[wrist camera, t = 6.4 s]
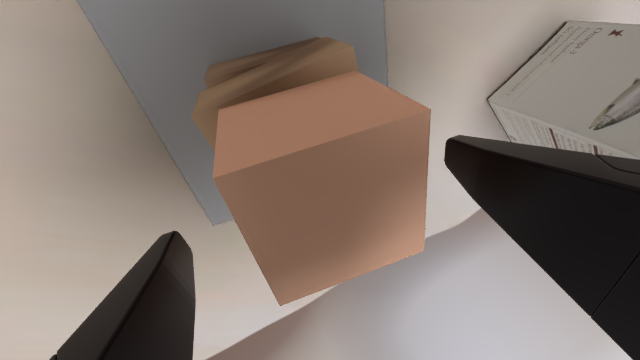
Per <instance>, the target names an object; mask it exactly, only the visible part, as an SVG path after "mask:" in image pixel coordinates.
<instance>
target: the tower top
mask: <svg viewBox="0 0 640 360" xmlns="http://www.w3.org/2000/svg"><path fill="white" fill-rule="evenodd" d="M352 71H357V72H359V69H358V64H357V60H356V56H355V52H354V48H353V45H350V44H347V43H344V42H341V41H338V40H335V39H332V38H329V37H323V38H321V39H319V40H317V41H314V42H312V43H310V44H308V45H305V46H303V47H301V48H299V49H296V50H294V51H292V52H290V53H287V54H285V55H283V56H281V57H278V58H276V59H274V60H272V61H269V62H267V63H265V64H263V65H261V66H258V67H256V68H254V69H252V70H249V71H247V72H245V73H243V74H240V75H238V76H236V77H234V78H231V79H229V80H227V81H225V82H222V83H220V84H218V85H216V86H213V87H211V88H209V89H207V90H204V91H202V92H200V93H199V96H198V99H197V102H196V105H195V108H194V111H193V114H192V117H191V118H192V119H193V121H194V122H195V124H196V125H197V126H198V128H199V129H200V131H201V132H202V134H203V135H204V137H205V138H206V140H207V141H208V142H209V144H210V145H211V147H212V148H213V150H214V151H215V144H216V133H217V122H218V110H219V109H222V108H226V107H229V106H233V105H236V104H240V103H243V102H247V101H250V100H254V99H257V98H261V97H264V96H268V95H271V94H275V93H278V92H282V91H285V90H289V89H292V88H296V87H299V86H303V85H306V84H310V83H313V82H317V81H320V80H324V79H327V78H331V77H334V76H338V75H341V74H345V73H348V72H352Z"/></svg>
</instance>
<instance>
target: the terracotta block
mask: <svg viewBox="0 0 640 360" xmlns="http://www.w3.org/2000/svg"><path fill="white" fill-rule="evenodd" d="M430 114H431V109H429V108H427V107H425V106H424V105H422V104H420V103H418V102H416V101H414V100H412V99H410V98H408V97H406V96H404V95H402V94H400V93H398V92H396V91H394V90H392V89H390V88H388V87H387V86H385V85H383V84H381V83H379V82H377V81H375V80H373V79H371V78H369V77H367V76H365V75H363V74H361V73H359V72H357V71H352V72H348V73H345V74H341V75H338V76H334V77H331V78H327V79H324V80H320V81H317V82H313V83H310V84H306V85H303V86H299V87H296V88H292V89H289V90H285V91H282V92H278V93H275V94H271V95H268V96H264V97H261V98H257V99H254V100H250V101H247V102H243V103H240V104H236V105H233V106H229V107H226V108H222V109H219V110H218V122H217V133H216V144H215V156H214V167H213V180H214V182H215V184H216V186H217V188H218V189H219V191H220V193H221V195H222V197H223V199H224V201H225V203H226V205H227V207H228V208H229V210H230V212H231V214H232V216H233V218H234V220H235V222H236V224H237V225H238V227H239V229H240V231H241V233H242V235H243V237H244V239H245V241H246V243H247V244H248V246H249V248H250V250H251V252H252V254H253V256H254V258H255V260H256V261H257V263H258V265H259V267H260V269H261V271H262V273H263V275H264V277H265V279H266V280H267V282H268V284H269V286H270V288H271V290H272V292H273V294H274V296H275V297H276V299H277V301H278V303H279V305H280V306H282V305H284V304H287V303H289V302H292V301H295V300H297V299H300V298H302V297H305V296H308V295H310V294H313V293H315V292H318V291H321V290H323V289H326V288H328V287H331V286H334V285H336V284H339V283H341V282H344V281H347V280H349V279H352V278H354V277H357V276H360V275H362V274H365V273H367V272H370V271H373V270H375V269H378V268H381V267H383V266H386V265H388V264H391V263H394V262H396V261H399V260H401V259H404V258H406V257H409V256H412V255H414V254H417V253H420V252H422V251H424V239H425V218H426V198H427V177H428V156H429V135H430Z"/></svg>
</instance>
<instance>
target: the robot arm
mask: <svg viewBox="0 0 640 360" xmlns="http://www.w3.org/2000/svg"><path fill="white" fill-rule="evenodd" d="M444 161H445V164H446V166H447V168H448V169H449V170H450V171H451V173H452V174H453V175H454V176H455V178H456V179H457V180H458V181H459V183H460V184H461V185H462V186H463V188H464V189H465V190H466V191H467V193H468V194H469V195H470V196H471V197H472V198H473V199H474V201H475V202H476V203H477V204H478V205H479V206H480V207H481V208H482V209H483V210H484V211H485V212H486V213H487V214H488V215H489V216H490V217H491V218H492V219H493V220H494V221H495V222H496V223H497V224H498V225H499V226H500V227H501V228H502V229H503V230H504V231H505V232H506V233H507V234H508V235H509V236H510V237H511V238H512V239H513V240H514V241H515V242H516V243H517V244H518V245H519V246H520V247H521V248H522V249H523V250H524V251H525V252H526V253H527V254H528V255H529V256H530V257H531V258H532V259H533V260H534V261H535V262H536V263H537V264H538V265H539V266H540V267H541V268H542V269H543V270H544V271H545V272H546V273H547V274H548V275H549V276H550V277H551V278H552V279H553V280H554V281H555V282H556V283H557V284H558V285H559V286H560V287H561V288H562V289H563V290H564V291H565V292H566V293H567V294H568V295H569V296H570V297H571V298H572V299H573V300H574V301H575V302H576V303H577V304H578V305H579V306H580V307H581V308H582V309H583V310H584V311H585V312H586V313H587V314H588V315H589V316H591V318H592V319H593V320H594V321H595V322H596V323H597V324H598V325H599V326H600V327H601V328H602V329H603V330H604V331H605V332H606V333H607V334H608V335H609V336H610V337H611V338H612V339H613V340H614V341H615V342H616V343H617V344H618V345H619V346H620V347H621V348H622V349H623V350H624V351H625V352H626V353H627V354H628V355H629V356H630V357H631V358H632V359H633V360H640V160H639V159H631V158H623V157H615V156H608V155H601V154H592V153H586V152H579V151H571V150H564V149H557V148H550V147H542V146H535V145H528V144H521V143H513V142H506V141H499V140H492V139H484V138H477V137H470V136H463V135H458V136H455V137H452V138H449V139H448V140H447V141H446V146H445V158H444ZM195 302H196V300H195V282H194V267H193V254H192V251H191V248H190V247H189V246H188V244H187V243H186V241H185V240H184V239H183V237H182V236H181V234H180V233H179V232H177V231H172V232H169V233H166V234H163V235H162V236H160V237H159V239H158V240H157V241H156V242H155V243H154V244H153V245H152V246H151V247H150V249H149V250H148V251H147V252H146V253H145V254H144V255H143V256H142V257H141V259H140V260H139V261H138V262H137V263H136V264H135V265H134V266H133V267H132V269H131V270H130V271H129V272H128V273H127V274H126V275H125V276H124V277H123V279H122V280H121V281H120V282H119V283H118V284H117V285H116V286H115V287H114V289H113V290H112V291H111V292H110V293H109V294H108V295H107V296H106V297H105V299H104V300H103V301H102V302H101V303H100V304H99V305H98V306H97V307H96V309H95V310H94V311H93V312H92V313H91V314H90V315H89V316H88V317H87V319H86V320H85V321H84V322H83V323H82V324H81V325H80V326H79V327H78V329H77V330H76V331H75V332H74V333H73V334H72V335H71V336H70V337H69V339H68V340H67V341H66V342H65V343H64V344H63V345H62V346H61V347H60V349H59V350H58V351H57V354H55V355H53V356H52V357H51V358H50V360H192V358H193V340H194V323H195Z"/></svg>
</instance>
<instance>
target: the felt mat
mask: <svg viewBox="0 0 640 360" xmlns="http://www.w3.org/2000/svg"><path fill="white" fill-rule="evenodd" d="M77 2H78V3H79V5H80V7H81V8H82V10H83V12H84V13H85V15H86V17H87V18H88V20H89V22H90V23H91V25H92V27H93V28H94V30H95V32H96V33H97V35H98V37H99V38H100V40H101V41H102V43H103V45H104V46H105V48H106V50H107V51H108V53H109V55H110V56H111V58H112V60H113V61H114V63H115V65H116V66H117V68H118V70H119V71H120V73H121V75H122V76H123V78H124V79H125V81H126V83H127V84H128V86H129V88H130V89H131V91H132V93H133V94H134V96H135V98H136V99H137V101H138V103H139V104H140V106H141V108H142V109H143V111H144V113H145V114H146V116H147V117H148V119H149V121H150V122H151V124H152V126H153V127H154V129H155V131H156V132H157V134H158V136H159V137H160V139H161V141H162V142H163V144H164V146H165V147H166V149H167V151H168V152H169V154H170V155H171V157H172V159H173V160H174V162H175V164H176V165H177V167H178V169H179V170H180V172H181V174H182V175H183V177H184V179H185V180H186V182H187V184H188V185H189V187H190V188H191V190H192V192H193V193H194V195H195V197H196V198H197V200H198V202H199V203H200V205H201V207H202V208H203V210H204V212H205V213H206V215H207V217H208V218H209V220H210V222H211V223H212V225H213V226H214V225H217V224H220V223H223V222H226V221H229V220H232V219H234V218H233V216H232V214H231V212H230V210H229V208H228V207H227V205H226V203H225V201H224V199H223V197H222V195H221V193H220V191H219V189H218V188H217V186H216V184H215V182H214V180H213V167H214V156H215V151H214V150H213V148H212V147H211V145H210V144H209V142H208V141H207V140H206V138H205V137H204V135H203V134H202V132H201V131H200V129H199V128H198V126H197V125H196V124H195V122H194V121H193V119H192V118H191V117H192V114H193V111H194V108H195V105H196V102H197V99H198V96H199V93H200V92H202V91H204V90H207V89H208V88H207V86H206V83H205V81H204V78H205V75H206V71H207V68H208V66H210V65H214V64H217V63H221V62H225V61H229V60H232V59H236V58H240V57H244V56H247V55H251V54H255V53H259V52H262V51H266V50H270V49H274V48H277V47H281V46H285V45H289V44H292V43H296V42H300V41H304V40H307V39H311V38H315V37H319V38H323V37H329V38H332V39H335V40H338V41H341V42H344V43H347V44H350V45H353V48H354V52H355V56H356V60H357V64H358V69H359V73H361V74H363V75H365V76H367V77H369V78H371V79H373V80H375V81H377V82H379V83H381V84H383V85H385V86H387V87H388V79H387V58H386V37H385V16H384V0H77Z"/></svg>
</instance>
